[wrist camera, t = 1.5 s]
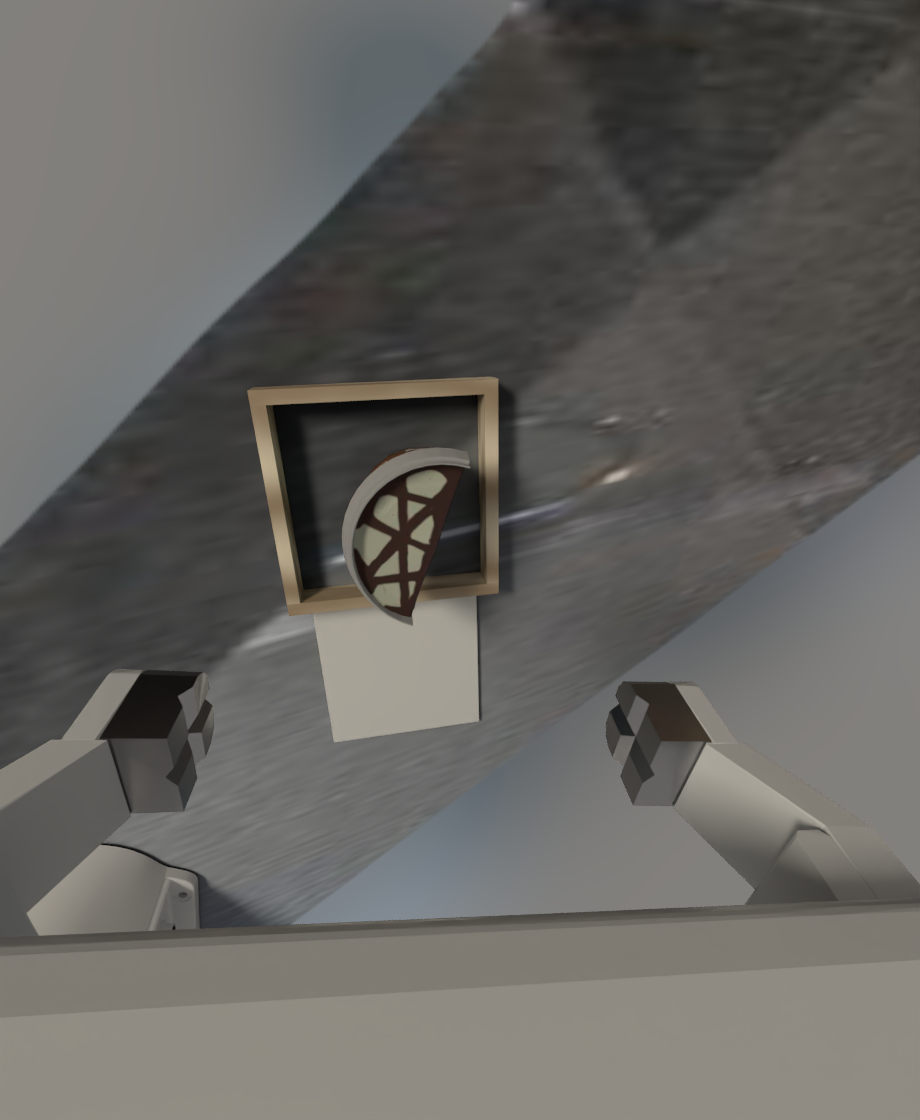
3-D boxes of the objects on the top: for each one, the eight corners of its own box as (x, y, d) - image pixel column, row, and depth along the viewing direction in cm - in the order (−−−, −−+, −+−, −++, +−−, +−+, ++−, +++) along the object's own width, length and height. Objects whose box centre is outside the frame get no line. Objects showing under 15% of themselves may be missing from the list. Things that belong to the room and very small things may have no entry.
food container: (370, 405, 38) (373, 425, 29) (448, 432, 40) (473, 458, 31) (327, 554, 42) (318, 612, 33) (400, 572, 44) (410, 633, 35)
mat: (478, 718, 51) (478, 721, 51) (334, 739, 49) (334, 742, 49) (475, 592, 46) (476, 594, 45) (313, 610, 44) (312, 612, 43)
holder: (491, 580, 45) (498, 593, 43) (293, 601, 43) (289, 616, 41) (490, 376, 39) (498, 378, 36) (254, 387, 36) (247, 390, 34)
